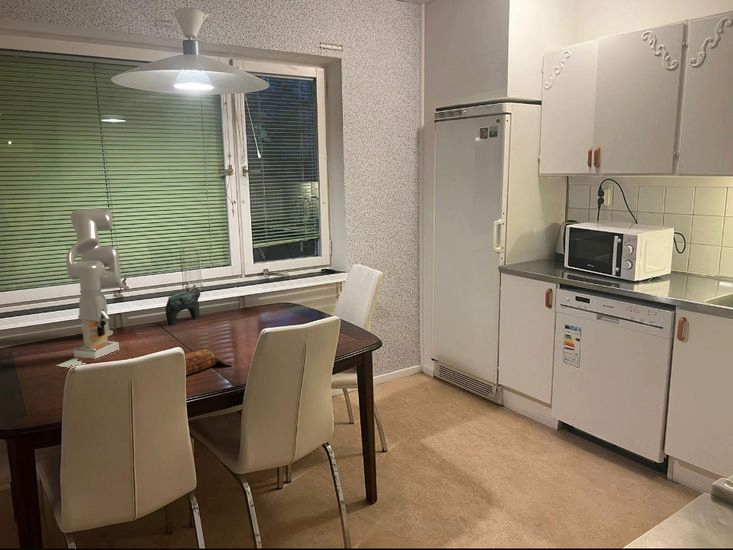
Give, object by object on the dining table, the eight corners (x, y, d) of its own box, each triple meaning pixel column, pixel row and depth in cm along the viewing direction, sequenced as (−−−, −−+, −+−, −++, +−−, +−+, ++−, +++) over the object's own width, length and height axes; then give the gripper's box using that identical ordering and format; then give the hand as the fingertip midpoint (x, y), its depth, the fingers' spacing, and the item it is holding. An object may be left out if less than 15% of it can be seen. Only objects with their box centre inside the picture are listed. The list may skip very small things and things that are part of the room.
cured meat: (238, 364, 223) (237, 348, 222) (184, 383, 203) (183, 365, 202) (210, 357, 234) (209, 341, 233) (157, 374, 214) (155, 357, 213)
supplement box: (91, 351, 233) (87, 321, 230) (84, 349, 235) (80, 320, 233) (109, 346, 240) (106, 317, 237) (102, 344, 242) (99, 315, 240)
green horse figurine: (197, 316, 299) (194, 279, 295) (204, 318, 295) (202, 281, 291) (164, 324, 283) (161, 286, 279) (172, 326, 279) (169, 287, 275)
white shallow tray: (74, 358, 232) (73, 347, 232) (98, 348, 245) (97, 338, 245) (95, 360, 229) (94, 349, 229) (119, 350, 242) (118, 340, 242)
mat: (55, 367, 222) (55, 365, 222) (75, 359, 231) (74, 357, 231) (75, 369, 219) (75, 368, 219) (94, 361, 228) (94, 360, 228)
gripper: (67, 294, 232) (72, 335, 235) (101, 296, 227) (105, 339, 230) (81, 290, 239) (85, 330, 242) (114, 292, 234) (118, 334, 237)
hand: (95, 334), depth 236 cm, fingers closed on supplement box, 5 cm apart
